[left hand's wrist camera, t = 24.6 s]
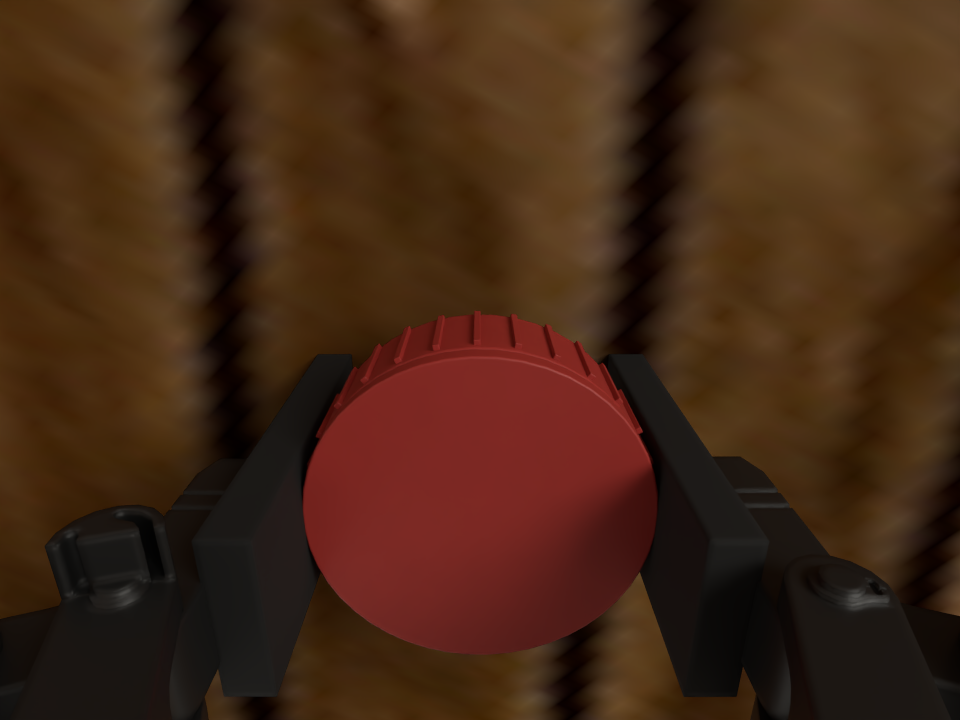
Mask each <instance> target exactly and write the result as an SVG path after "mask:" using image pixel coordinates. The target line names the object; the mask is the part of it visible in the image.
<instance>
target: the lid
mask: <svg viewBox="0 0 960 720" xmlns="http://www.w3.org/2000/svg"><path fill="white" fill-rule="evenodd" d="M642 432H643V431H642V429H641V427H640V425H639V423H638V421H637V419H636V418H635V416H634V414H633V412H632V410H631V408H630V406H629V404H628V402H627V400H626V398H625V396H624V394H623V392H622V390H621V389H620V390H618V391H617V389H616V387H615V385H614V383H613V381H612V379H611V377H610V374H609V372H608V370H607V368H606V366H605V365H604V364H603V363H601V364H600V365H598V364H597V363H596V362H595V361H594V360H593V359H592V358H591V357H590V356H589V355H588V354H587V353H586V352H585V351H584V349H583V346H582V344H581V343H580V342H578V341H576V342H575V343H573V342H572V341H570V340H568V339H566V338H565V337H563V336H561V335H560V334H558V333H556V332H554V331H553V330H552V327H551V326H550V325H548V324H546V325H545V327H542V326H540V325H537V324H535V323H531V322H528V321H524V320H520V319H517V315H515V314H511V316H510V317H504V316H497V315H480V311H474V315H465V316H456V317H449V318H445V317H444V315H441V316H438V319H437V320H436V321H432V322H429V323H426V324H423V325H421V326H418V327H416V328H413V329H411V328H410V326H408V327H406V328H404V331H403V334H401V335H399V336H397V337H395V338H394V339H392V340H391V341H389V342H388V343H386V344H385V345H384V346H381V345H380V344H378V345H377V346H375V348H374V350H373V353H372V355H371V356H370V357H369V358H368V359H367V360H366V361H365V362H364V363H363V364H362V365H361V366H360V368H359V369H357V368H356V367H354V368H353V369H352V371H351V373H350V375H349V377H348V379H347V381H346V383H345V385H344V387H343V389H342V391H341V393H340V394H337V395H336V397H335V399H334V401H333V403H332V405H331V407H330V409H329V411H328V413H327V414H326V416H325V418H324V420H323V422H322V424H321V426H320V428H319V430H318V432H317V434H316V437H317V438H319V441H318V443H317V445H316V447H315V449H314V451H313V453H312V455H311V457H310V459H309V461H308V463H307V472H306V477H305V481H304V486H303V498H302V508H303V516H304V524H305V532H306V537H307V541H308V544H309V548H310V550H311V552H312V555H313V557H314V559H315V562H316V564H317V566H318V568H319V569H320V571H321V573H322V574H323V576H324V577H325V579H326V581H327V582H328V583H329V585H330V586H331V587H332V588H333V590H334V591H335V592H336V593H337V594H338V596H339V597H340V598H341V599H342V600H343V601H344V602H345V603H346V604H347V605H348V606H350V607H351V608H352V609H353V610H354V611H355V612H356V613H358V614H359V615H360V616H362V617H363V618H364V619H366V620H367V621H368V622H370V623H371V624H373V625H375V626H377V627H378V628H380V629H382V630H383V631H385V632H387V633H389V634H391V635H393V636H396V637H398V638H400V639H402V640H405V641H407V642H410V643H413V644H417V645H420V646H423V647H426V648H430V649H435V650H440V651H444V652H452V653H461V654H499V653H510V652H515V651H520V650H526V649H530V648H534V647H537V646H541V645H544V644H547V643H550V642H553V641H555V640H558V639H560V638H563V637H565V636H567V635H569V634H571V633H573V632H575V631H577V630H579V629H580V628H582V627H584V626H586V625H587V624H589V623H590V622H592V621H593V620H595V619H596V618H597V617H599V616H600V615H602V614H603V613H604V612H605V611H606V610H607V609H609V608H610V607H611V606H612V605H613V604H614V603H615V602H616V601H617V600H618V599H619V598H620V597H621V596H622V595H623V594H624V592H625V591H626V590H627V589H628V588H629V587H630V585H631V584H632V582H633V581H634V579H635V578H636V576H637V575H638V573H639V572H640V570H641V569H642V566H643V564H644V562H645V560H646V558H647V556H648V554H649V552H650V548H651V545H652V542H653V539H654V535H655V528H656V520H657V512H658V490H657V485H656V479H655V473H654V470H653V467H652V464H654V463H653V459H652V457H651V455H650V453H649V451H648V449H647V447H646V445H645V443H644V441H643V439H642V437H641V435H640V433H642Z"/></svg>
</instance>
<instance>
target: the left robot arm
mask: <svg viewBox="0 0 960 720" xmlns="http://www.w3.org/2000/svg"><path fill="white" fill-rule="evenodd" d="M352 369H353V367H352V355H351V354H318V355H317V356H316V358H315V359H314V361H313V362H312V364H311V365H310V367H309V368H308V370H307V371H306V373H305V374H304V376H303V377H302V379H301V380H300V382H299V383H298V384H297V386H296V387H295V389H294V390H293V392H292V393H291V395H290V396H289V398H288V399H287V401H286V402H285V404H284V405H283V407H282V408H281V410H280V411H279V412H278V414H277V415H276V417H275V418H274V420H273V421H272V423H271V424H270V426H269V427H268V429H267V430H266V432H265V433H264V435H263V436H262V438H261V439H260V440H259V442H258V443H257V445H256V446H255V448H254V449H253V451H252V452H251V454H250V455H249V457H248V458H247V459H219V460H218V461H216V462H215V463H213V464H212V465H210V466H209V467H207V468H206V469H204V470H203V471H201V472H199V473H198V474H197V475H196V476H195V478H194V479H193V480H192V481H191V483H190V484H189V485H188V487H187V488H186V489H185V490H184V494H183V495H180V497H179V498H178V499H177V501H176V502H175V503H174V504H173V506H172V510H169V511H168V512H167V513H166V514H165V516H164V517H163V515H162V514H161V513H159V512H158V511H157V510H156V509H154V508H151V507H146V506H142V505H125V506H116V507H111V508H107V509H103V510H99V511H95V512H93V513H91V514H88V515H86V516H84V517H81V518H79V519H77V520H74V521H73V522H71V523H70V524H68V525H67V526H65V527H64V528H62V529H61V530H59V531H58V532H56V533H55V535H54V536H53V537H52V538H51V539H50V540H49V542H48V543H47V544H46V545H45V549H46V552H47V555H48V558H49V561H50V564H51V568H52V571H53V574H54V577H55V580H56V583H57V586H58V589H59V593H60V596H61V599H62V600H61V603H60V605H59V606H56V607H52V608H49V609H44V610H39V611H35V612H30V613H26V614H21V615H16V616H12V617H7V618H3V619H0V720H209V719H208V712H207V706H206V702H205V695H206V692H207V690H208V688H209V686H210V684H211V682H212V680H213V678H214V676H215V674H216V671H217V669H218V670H219V674H220V679H221V684H222V689H223V693H224V696H235V697H277V695H278V692H279V689H280V686H281V683H282V680H283V677H284V675H285V672H286V669H287V666H288V663H289V660H290V658H291V655H292V652H293V649H294V646H295V643H296V640H297V638H298V635H299V632H300V629H301V626H302V623H303V620H304V618H305V615H306V612H307V609H308V606H309V603H310V601H311V598H312V595H313V592H314V589H315V586H316V583H317V581H318V578H319V575H320V572H321V571H320V569H319V568H318V566H317V564H316V562H315V559H314V557H313V555H312V552H311V550H310V548H309V544H308V541H307V537H306V532H305V524H304V516H303V508H302V498H303V486H304V481H305V477H306V472H307V463H308V461H309V459H310V457H311V455H312V453H313V451H314V449H315V447H316V445H317V443H318V441H319V438H317V437H316V434H317V432H318V430H319V428H320V426H321V424H322V422H323V420H324V418H325V416H326V414H327V413H328V411H329V409H330V407H331V405H332V403H333V401H334V399H335V397H336V395H337V394H340V393H341V391H342V389H343V387H344V385H345V383H346V381H347V379H348V377H349V375H350V373H351V371H352ZM608 372H609V374H610V377H611V379H612V381H613V383H614V385H615V387H616V389H617V391H618V390H620V389H621V390H622V392H623V394H624V396H625V398H626V400H627V402H628V404H629V406H630V408H631V410H632V412H633V414H634V416H635V418H636V419H637V421H638V423H639V425H640V427H641V429H642V431H643V432H642V433H640V435H641V437H642V439H643V441H644V443H645V445H646V447H647V449H648V451H649V453H650V455H651V457H652V459H653V463H654V464H652V467H653V470H654V473H655V479H656V485H657V490H658V512H657V520H656V528H655V535H654V539H653V542H652V545H651V548H650V552H649V554H648V556H647V558H646V560H645V562H644V564H643V566H642V569H641V570H640V574H641V577H642V579H643V582H644V585H645V588H646V591H647V594H648V596H649V599H650V602H651V605H652V608H653V611H654V613H655V616H656V619H657V622H658V625H659V628H660V630H661V633H662V636H663V639H664V642H665V645H666V648H667V650H668V653H669V656H670V659H671V662H672V665H673V667H674V670H675V673H676V676H677V679H678V682H679V684H680V687H681V690H682V693H683V696H684V697H736V696H737V692H738V687H739V682H740V678H741V673H742V668H743V667H744V669H745V671H746V673H747V675H748V678H749V680H750V682H751V684H752V686H753V688H754V690H755V692H756V697H755V702H754V706H753V710H752V715H751V719H750V720H960V616H956V615H952V614H947V613H942V612H938V611H933V610H929V609H924V608H919V607H915V606H911V605H907V604H904V603H900V601H899V599H898V598H897V596H896V595H895V594H894V592H893V591H892V589H891V588H890V587H889V585H888V584H887V583H885V582H884V581H883V580H881V579H880V578H879V577H878V576H876V575H875V574H874V573H872V572H871V571H869V570H867V569H865V568H863V567H861V566H859V565H857V564H855V563H853V562H851V561H847V560H844V559H840V558H837V557H833V556H830V555H829V554H828V553H827V551H826V550H825V549H824V548H823V546H822V545H821V544H820V542H819V541H818V540H817V539H816V537H815V536H814V535H813V534H812V532H811V531H810V530H809V529H808V527H807V526H806V525H805V524H804V522H803V521H802V520H801V519H800V517H799V516H798V515H797V514H796V512H795V511H794V510H793V508H789V503H788V502H787V501H786V500H785V498H784V497H783V496H782V495H781V493H778V492H777V488H776V487H775V486H774V485H773V483H772V482H771V481H770V480H769V478H768V477H767V476H766V474H765V473H764V472H763V471H761V470H760V469H758V468H757V467H755V466H754V465H752V464H751V463H749V462H748V461H746V460H744V459H743V458H741V457H712V456H711V454H710V453H709V452H708V450H707V449H706V447H705V446H704V444H703V443H702V441H701V440H700V438H699V437H698V435H697V434H696V432H695V431H694V429H693V428H692V427H691V425H690V424H689V422H688V421H687V419H686V418H685V416H684V415H683V413H682V412H681V410H680V409H679V407H678V406H677V404H676V403H675V402H674V400H673V399H672V397H671V396H670V394H669V393H668V391H667V390H666V388H665V387H664V385H663V384H662V382H661V381H660V379H659V378H658V377H657V375H656V374H655V372H654V371H653V369H652V368H651V366H650V365H649V363H648V362H647V360H646V359H645V357H644V356H643V354H609V359H608Z"/></svg>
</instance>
